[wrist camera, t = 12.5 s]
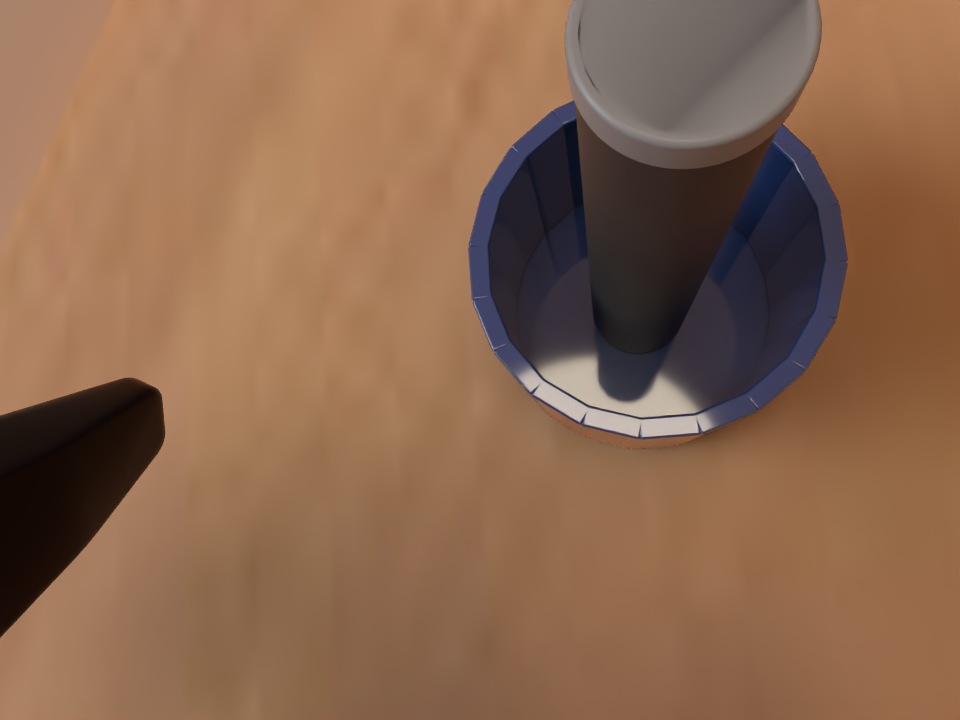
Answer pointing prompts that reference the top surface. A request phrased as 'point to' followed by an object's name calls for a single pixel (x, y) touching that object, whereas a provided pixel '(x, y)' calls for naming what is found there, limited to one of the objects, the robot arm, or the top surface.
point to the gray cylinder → (674, 140)
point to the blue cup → (708, 324)
